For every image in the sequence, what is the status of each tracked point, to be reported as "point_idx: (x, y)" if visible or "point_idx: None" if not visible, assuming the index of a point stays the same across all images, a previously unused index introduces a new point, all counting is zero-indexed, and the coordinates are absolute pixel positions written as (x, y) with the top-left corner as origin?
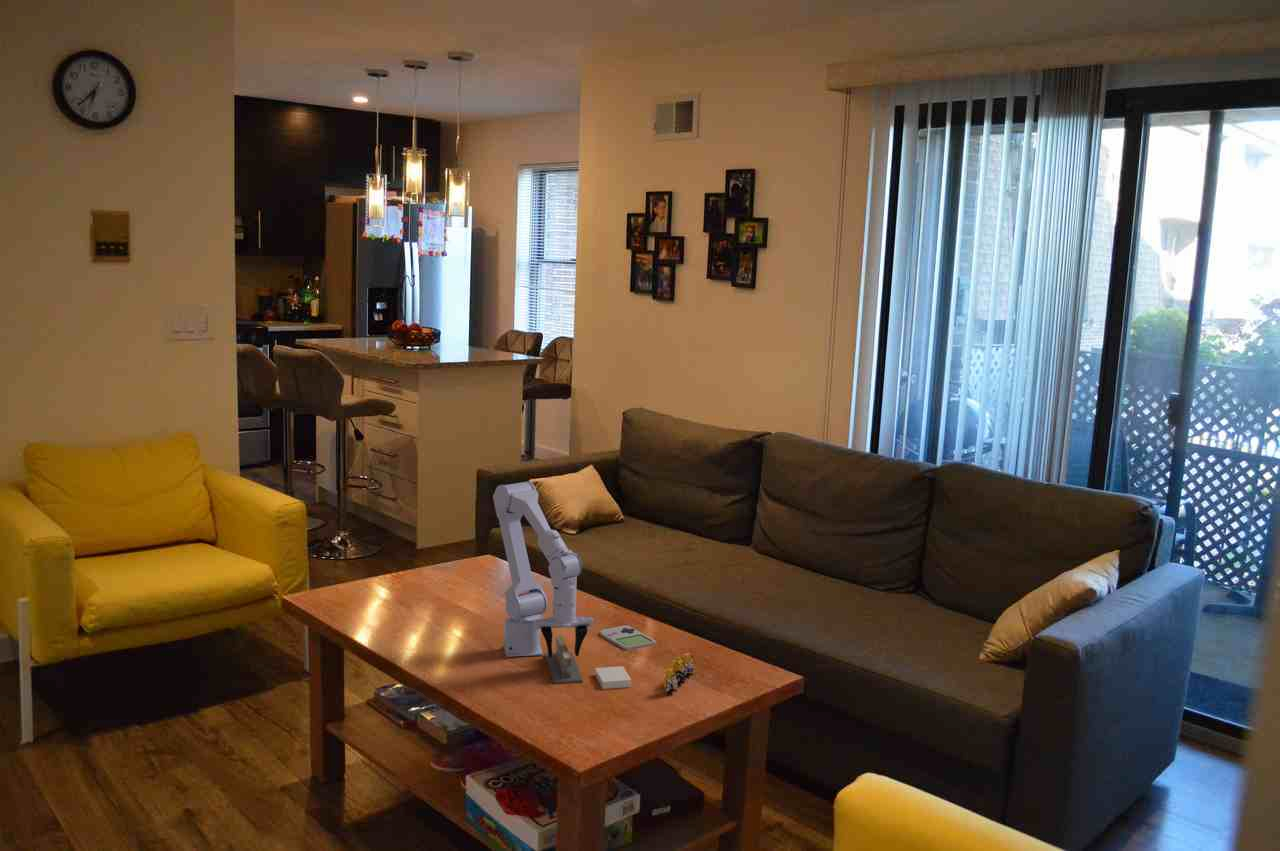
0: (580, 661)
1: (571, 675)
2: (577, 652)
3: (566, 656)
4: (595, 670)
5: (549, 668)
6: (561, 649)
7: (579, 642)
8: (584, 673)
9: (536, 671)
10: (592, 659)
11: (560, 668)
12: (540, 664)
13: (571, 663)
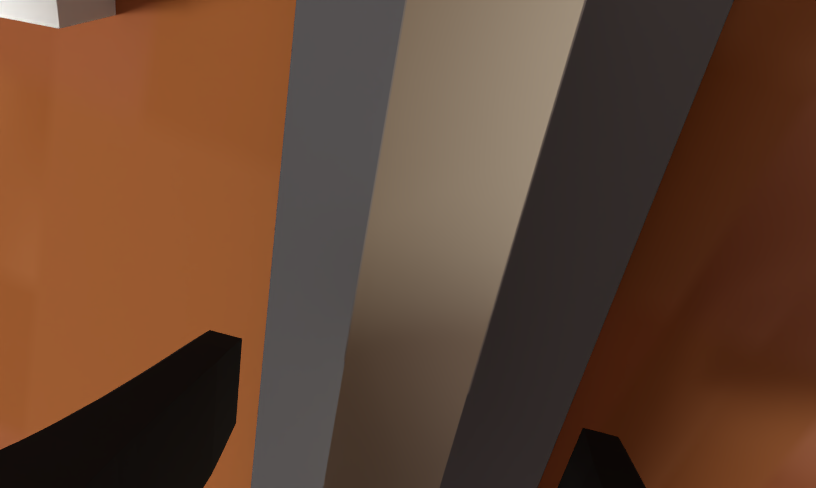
0: None
1: None
2: (196, 355)
3: (494, 88)
4: (77, 11)
5: (591, 345)
6: (447, 454)
7: (60, 459)
8: (234, 100)
9: (752, 353)
10: (96, 394)
11: None
12: None
13: (314, 357)
